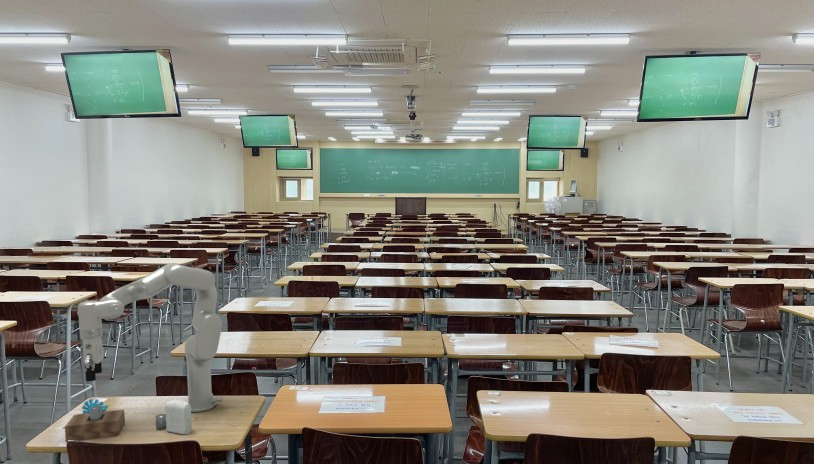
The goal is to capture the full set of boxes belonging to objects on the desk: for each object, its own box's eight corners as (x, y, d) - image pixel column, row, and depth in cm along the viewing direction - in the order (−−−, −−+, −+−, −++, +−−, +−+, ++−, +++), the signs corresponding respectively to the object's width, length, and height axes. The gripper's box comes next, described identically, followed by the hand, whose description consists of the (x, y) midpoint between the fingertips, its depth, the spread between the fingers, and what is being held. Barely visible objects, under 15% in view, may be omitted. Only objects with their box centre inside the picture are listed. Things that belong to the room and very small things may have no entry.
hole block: (124, 423, 231) (124, 409, 230) (118, 435, 219) (117, 420, 219) (74, 429, 226) (74, 414, 225) (65, 442, 214) (64, 426, 214)
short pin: (168, 425, 228) (167, 413, 228) (166, 429, 225) (166, 416, 224) (157, 426, 227) (156, 414, 227) (155, 430, 223) (155, 418, 223)
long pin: (103, 429, 225) (102, 405, 224) (101, 434, 221) (99, 408, 220) (92, 431, 224) (90, 406, 223) (89, 435, 220) (88, 409, 219)
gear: (88, 420, 230) (79, 400, 234) (81, 429, 232) (73, 408, 236) (114, 415, 240) (105, 395, 244) (107, 423, 242) (98, 403, 246)
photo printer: (193, 431, 222) (192, 400, 221) (185, 435, 218) (184, 403, 217) (173, 427, 226) (171, 397, 225) (164, 432, 222) (163, 400, 221)
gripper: (96, 337, 213) (99, 382, 214) (107, 327, 229) (110, 369, 230) (73, 339, 211) (77, 385, 212) (86, 329, 227) (89, 371, 228)
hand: (94, 376), depth 221 cm, fingers open, 9 cm apart
